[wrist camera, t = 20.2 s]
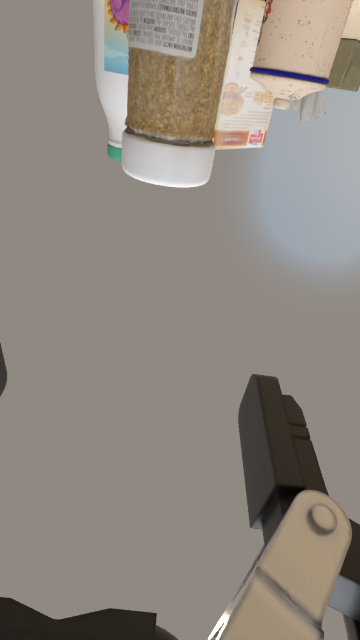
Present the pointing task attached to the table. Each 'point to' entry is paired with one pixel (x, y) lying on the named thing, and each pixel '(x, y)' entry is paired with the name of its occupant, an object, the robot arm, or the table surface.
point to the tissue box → (334, 79)
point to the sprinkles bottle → (175, 88)
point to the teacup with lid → (298, 47)
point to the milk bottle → (112, 66)
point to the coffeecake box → (243, 86)
